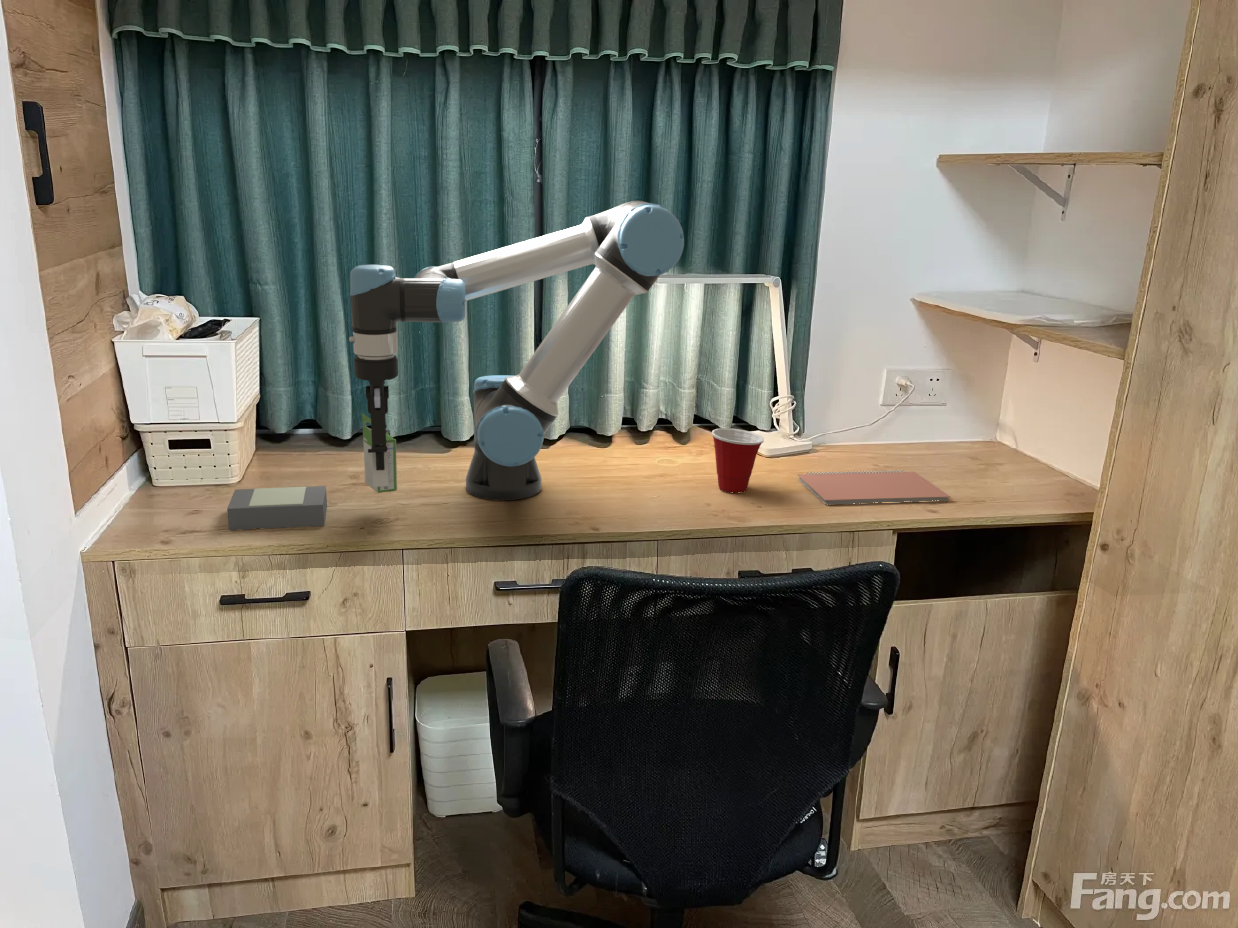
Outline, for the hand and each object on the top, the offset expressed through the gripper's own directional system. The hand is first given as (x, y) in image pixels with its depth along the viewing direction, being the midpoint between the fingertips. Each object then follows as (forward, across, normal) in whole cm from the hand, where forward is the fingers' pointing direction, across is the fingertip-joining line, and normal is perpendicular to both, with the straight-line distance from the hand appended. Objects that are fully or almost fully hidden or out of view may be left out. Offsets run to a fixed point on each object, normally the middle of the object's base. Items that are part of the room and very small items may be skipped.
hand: (381, 477), depth 177 cm
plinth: (+7, -1, -18) cm, 20 cm away
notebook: (+8, -2, +100) cm, 100 cm away
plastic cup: (+8, -6, +71) cm, 71 cm away
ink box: (+2, 0, 0) cm, 2 cm away
